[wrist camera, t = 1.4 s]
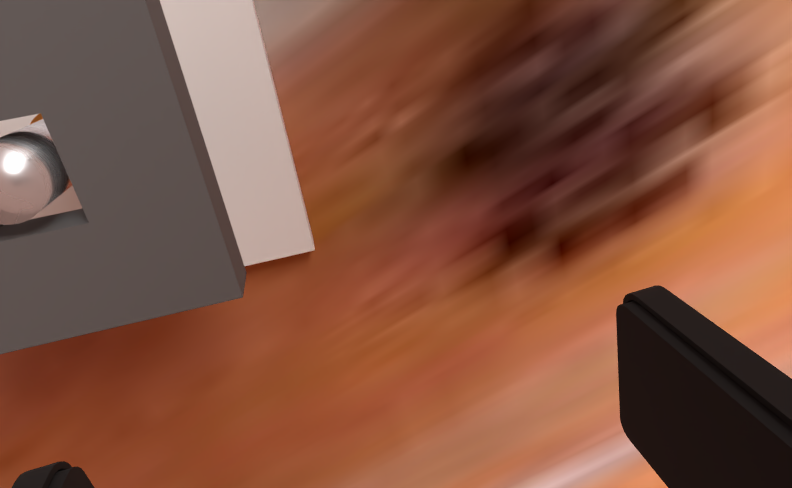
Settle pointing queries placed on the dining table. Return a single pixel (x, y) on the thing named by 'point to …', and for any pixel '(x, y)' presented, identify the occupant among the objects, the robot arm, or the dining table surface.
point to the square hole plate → (109, 175)
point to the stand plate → (232, 126)
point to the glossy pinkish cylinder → (29, 172)
